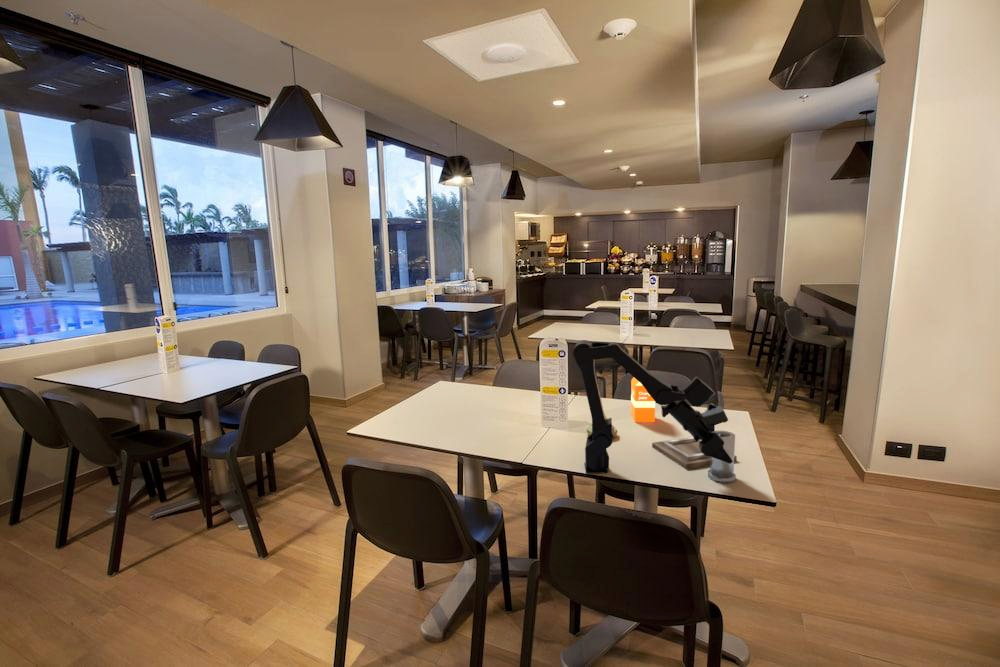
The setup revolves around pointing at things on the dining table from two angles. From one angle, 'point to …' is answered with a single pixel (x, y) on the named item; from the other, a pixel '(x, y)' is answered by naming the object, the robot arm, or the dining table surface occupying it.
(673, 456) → the bronze base
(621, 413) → the dining table surface
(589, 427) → the decorated donut
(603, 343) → the robot arm
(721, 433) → the silver metal cup
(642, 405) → the orange juice
